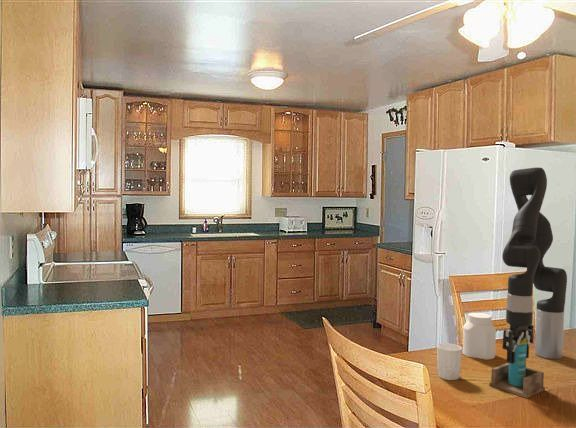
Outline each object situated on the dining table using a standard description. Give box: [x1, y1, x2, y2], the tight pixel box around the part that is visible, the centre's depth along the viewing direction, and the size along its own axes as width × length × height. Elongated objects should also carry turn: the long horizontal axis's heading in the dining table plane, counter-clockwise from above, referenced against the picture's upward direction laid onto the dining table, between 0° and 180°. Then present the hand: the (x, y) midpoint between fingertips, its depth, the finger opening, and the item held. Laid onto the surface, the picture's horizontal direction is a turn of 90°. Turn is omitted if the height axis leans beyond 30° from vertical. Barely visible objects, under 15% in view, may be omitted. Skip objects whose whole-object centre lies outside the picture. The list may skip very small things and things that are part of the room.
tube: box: [508, 338, 527, 387], centre depth 160 cm, size 7×5×19 cm, turn 123°
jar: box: [462, 312, 497, 360], centre depth 192 cm, size 12×10×15 cm
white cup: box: [436, 342, 463, 381], centre depth 169 cm, size 8×8×10 cm
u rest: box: [489, 362, 546, 399], centre depth 160 cm, size 11×12×6 cm
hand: (517, 360), depth 160 cm, fingers open, 8 cm apart
